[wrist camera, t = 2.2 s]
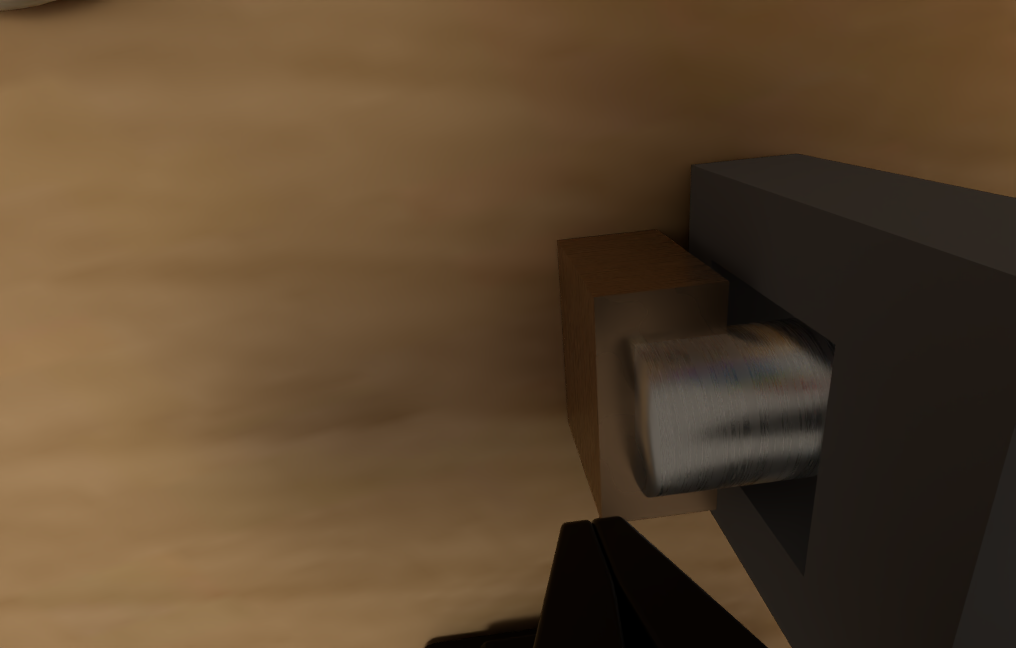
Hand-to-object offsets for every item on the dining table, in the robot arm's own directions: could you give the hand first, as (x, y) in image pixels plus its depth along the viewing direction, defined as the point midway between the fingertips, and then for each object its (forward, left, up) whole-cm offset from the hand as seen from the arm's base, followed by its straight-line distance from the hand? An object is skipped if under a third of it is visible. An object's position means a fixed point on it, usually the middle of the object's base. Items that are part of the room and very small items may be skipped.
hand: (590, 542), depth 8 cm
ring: (0, -5, -7) cm, 9 cm away
